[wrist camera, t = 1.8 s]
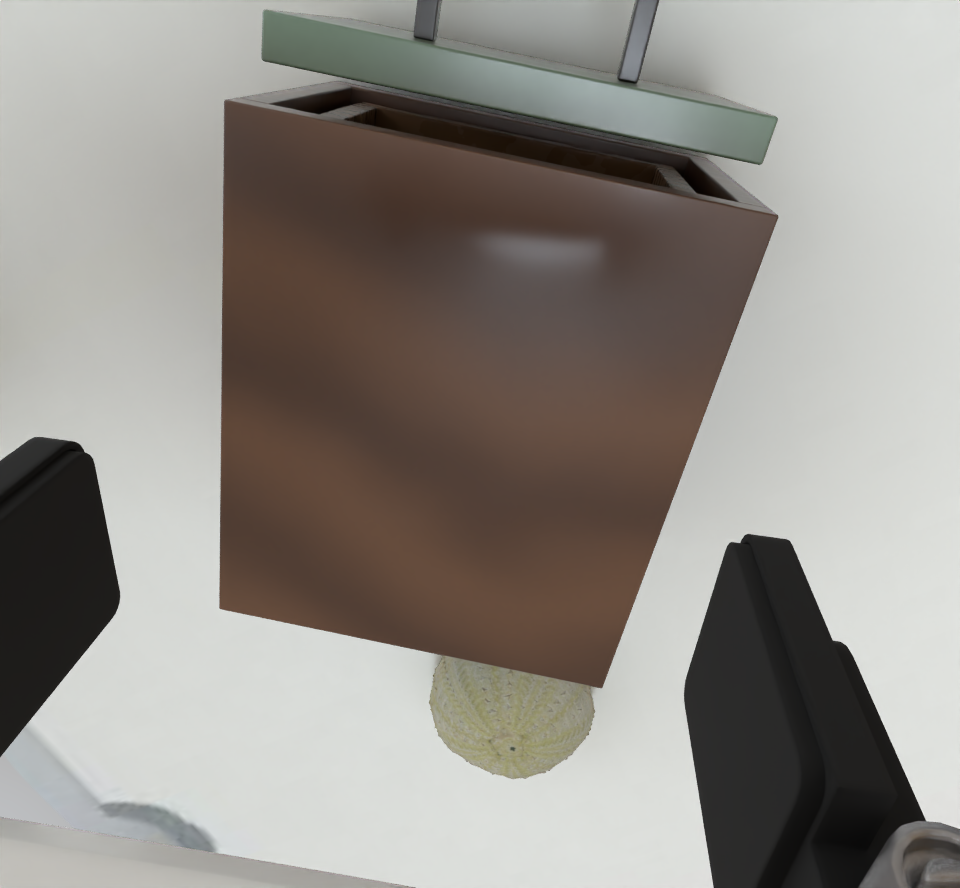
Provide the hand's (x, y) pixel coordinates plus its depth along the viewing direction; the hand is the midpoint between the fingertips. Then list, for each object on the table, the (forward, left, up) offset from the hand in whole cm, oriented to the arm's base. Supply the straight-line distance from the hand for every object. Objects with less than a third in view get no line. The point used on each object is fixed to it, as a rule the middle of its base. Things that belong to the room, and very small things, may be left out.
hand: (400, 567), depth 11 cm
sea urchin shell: (+1, -26, -23) cm, 34 cm away
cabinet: (-1, -5, -23) cm, 23 cm away
